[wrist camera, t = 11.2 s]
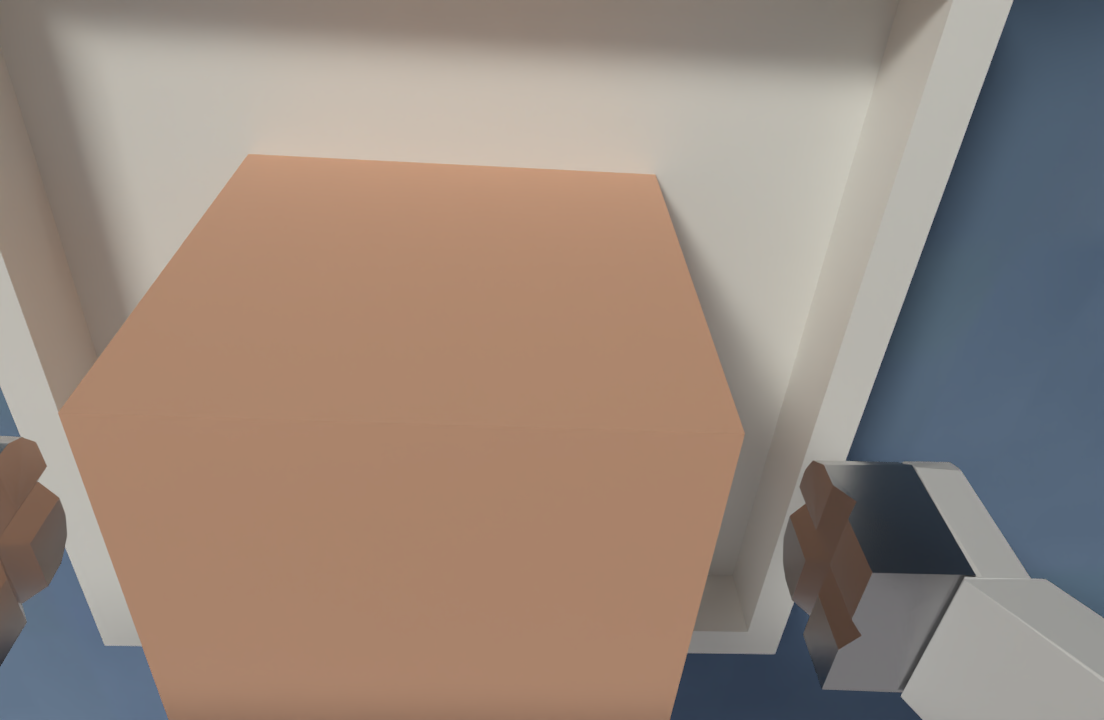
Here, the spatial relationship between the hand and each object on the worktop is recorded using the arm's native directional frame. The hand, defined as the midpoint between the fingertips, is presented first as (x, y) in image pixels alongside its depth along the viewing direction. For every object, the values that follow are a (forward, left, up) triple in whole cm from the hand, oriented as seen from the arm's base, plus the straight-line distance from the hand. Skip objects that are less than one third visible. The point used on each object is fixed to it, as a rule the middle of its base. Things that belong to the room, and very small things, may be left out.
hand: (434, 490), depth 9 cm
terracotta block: (0, 0, -3) cm, 3 cm away
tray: (0, 0, -4) cm, 4 cm away
